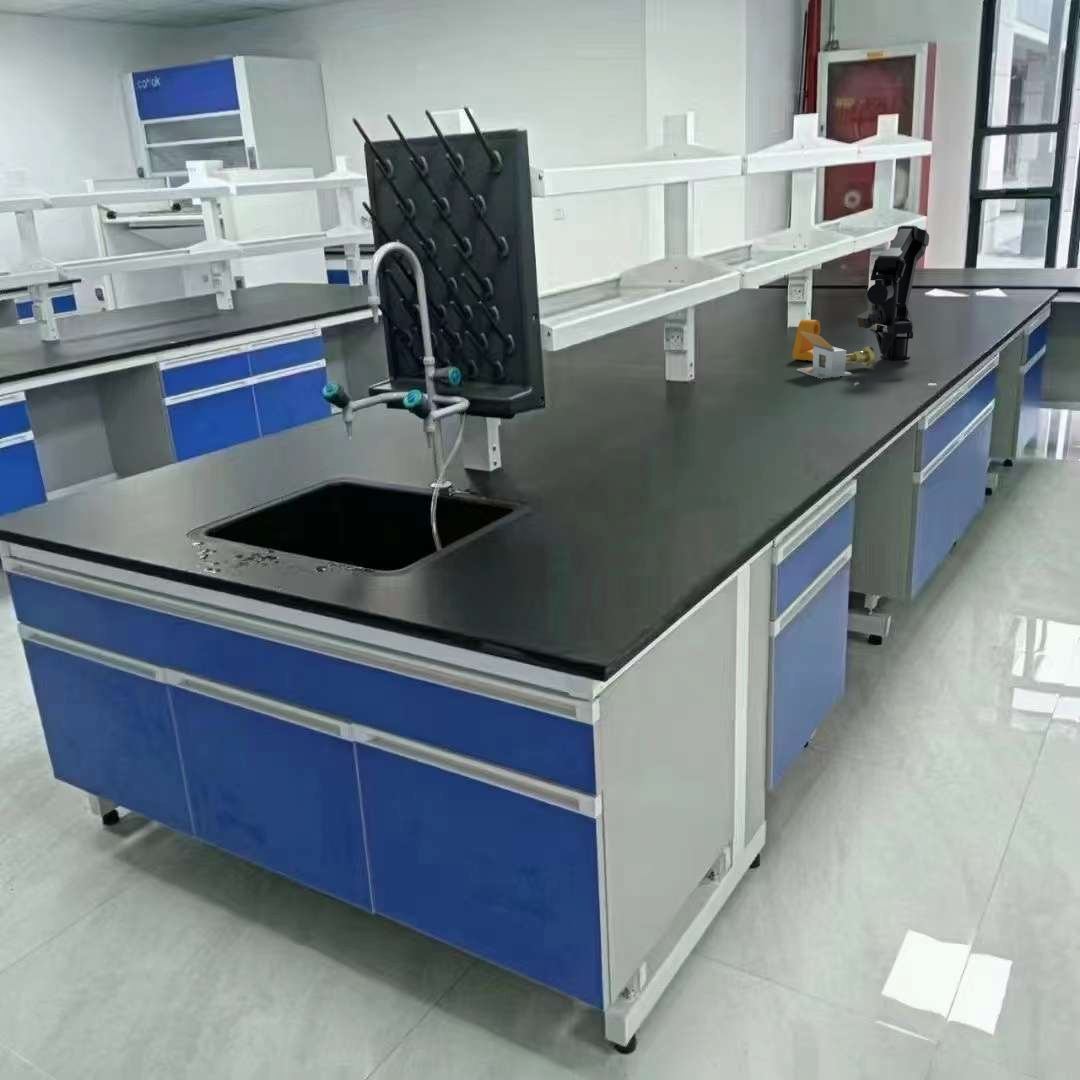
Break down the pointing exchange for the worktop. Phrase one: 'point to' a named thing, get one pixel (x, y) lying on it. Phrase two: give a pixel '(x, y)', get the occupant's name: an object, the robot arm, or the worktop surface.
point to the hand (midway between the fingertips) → (883, 353)
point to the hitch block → (827, 363)
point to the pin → (862, 356)
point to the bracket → (805, 340)
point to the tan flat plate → (817, 341)
